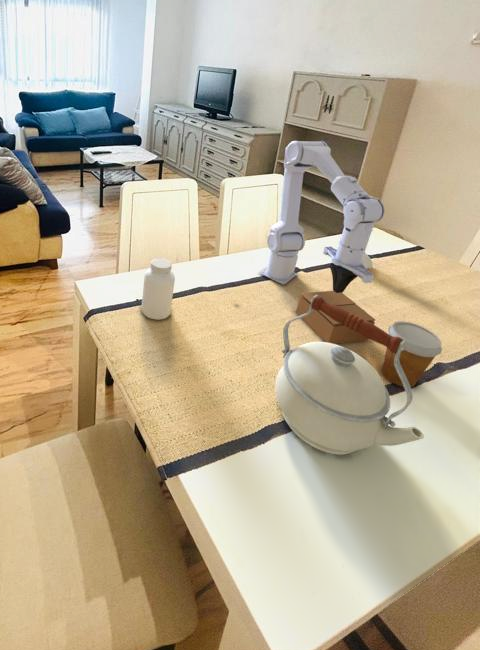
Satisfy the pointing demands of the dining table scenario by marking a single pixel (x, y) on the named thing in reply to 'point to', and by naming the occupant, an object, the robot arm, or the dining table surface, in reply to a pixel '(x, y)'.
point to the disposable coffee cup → (411, 352)
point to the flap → (330, 297)
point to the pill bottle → (158, 289)
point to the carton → (332, 323)
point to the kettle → (340, 390)
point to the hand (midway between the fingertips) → (337, 291)
